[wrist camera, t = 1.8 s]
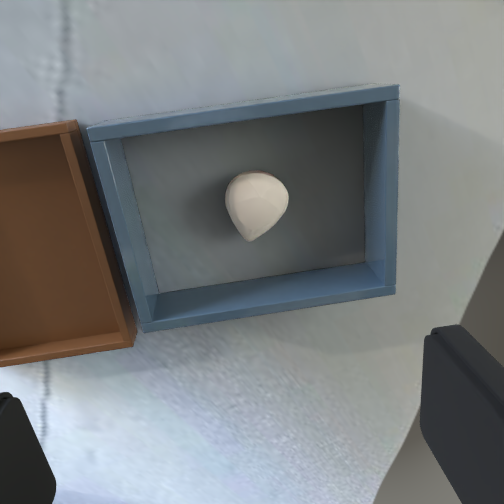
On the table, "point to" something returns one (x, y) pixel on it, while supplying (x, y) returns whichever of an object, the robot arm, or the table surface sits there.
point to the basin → (276, 287)
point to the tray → (55, 251)
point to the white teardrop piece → (255, 202)
